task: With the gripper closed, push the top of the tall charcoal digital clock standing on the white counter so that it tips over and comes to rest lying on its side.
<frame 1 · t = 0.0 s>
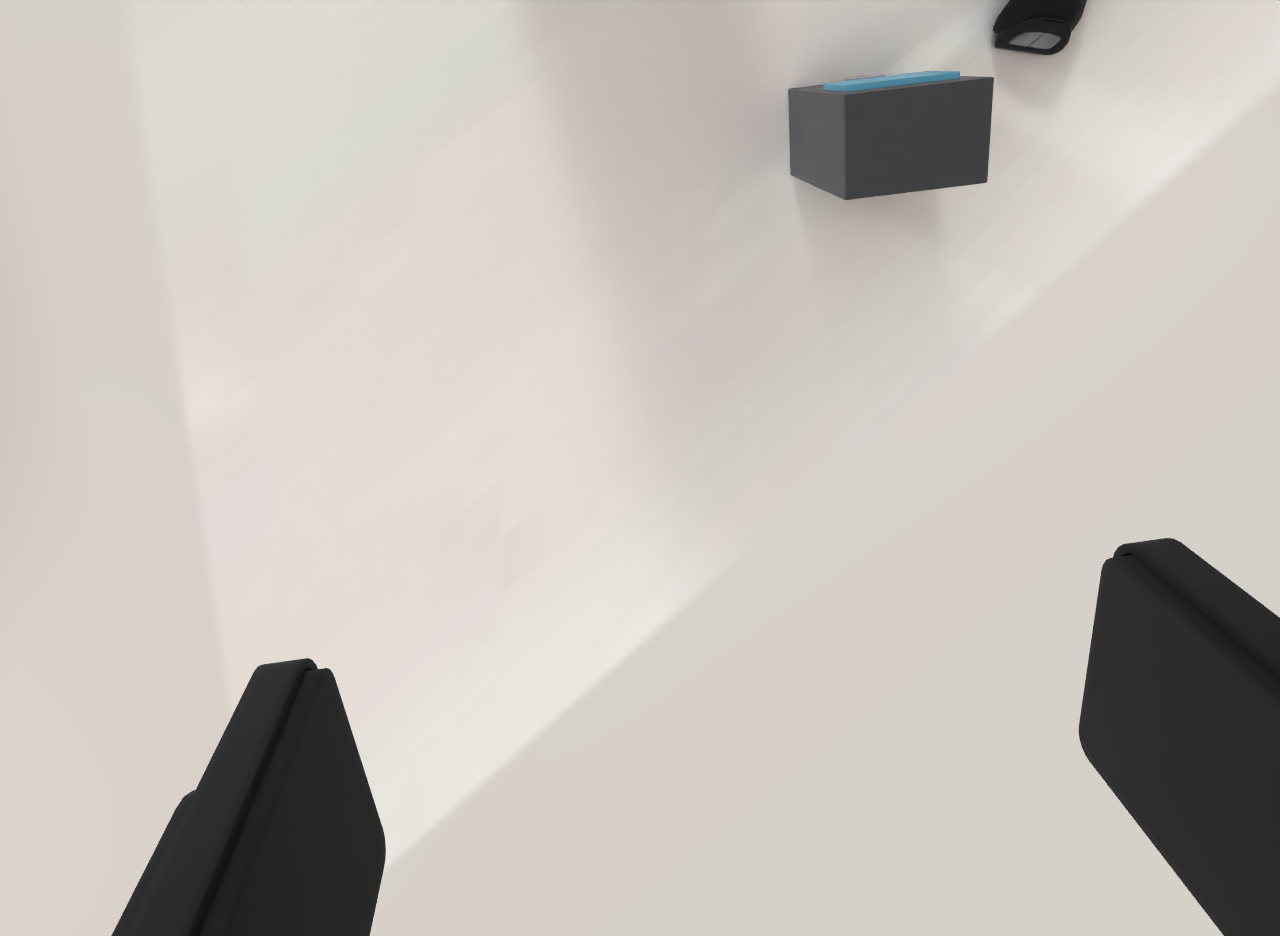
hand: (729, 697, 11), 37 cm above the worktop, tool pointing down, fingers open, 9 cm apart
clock: (849, 125, 43), on the worktop
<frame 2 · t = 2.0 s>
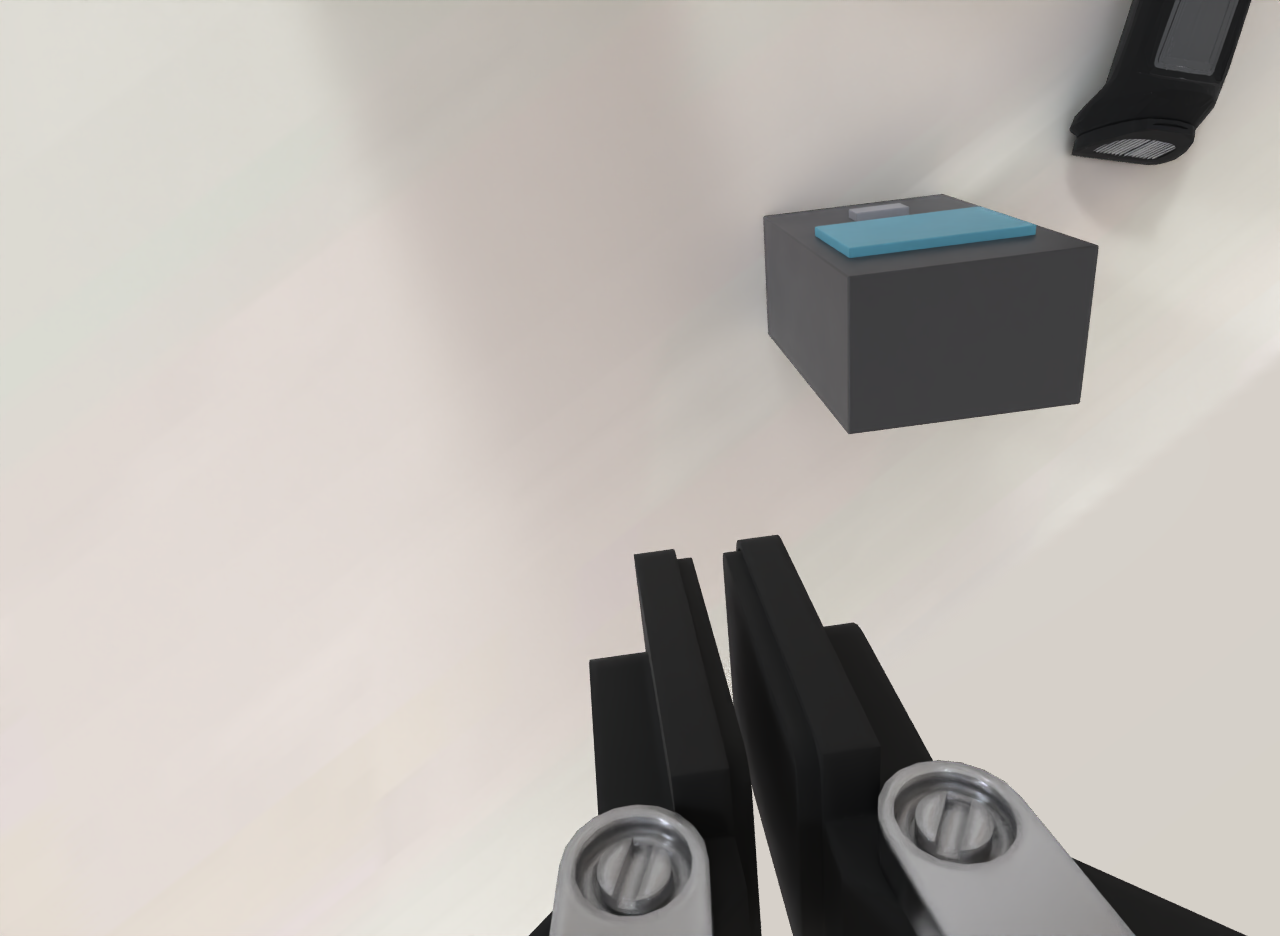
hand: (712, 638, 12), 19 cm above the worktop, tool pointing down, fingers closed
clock: (853, 265, 29), on the worktop
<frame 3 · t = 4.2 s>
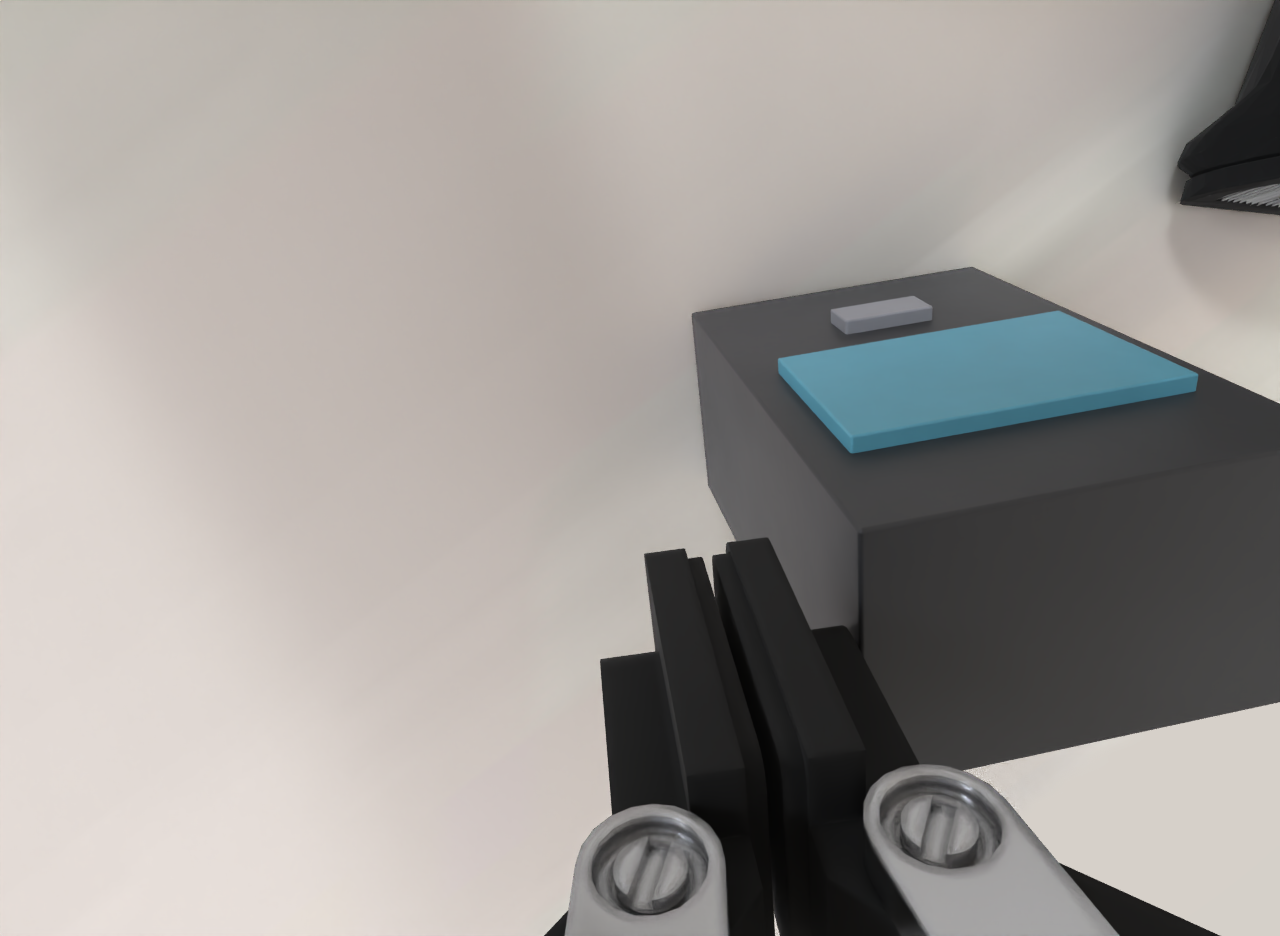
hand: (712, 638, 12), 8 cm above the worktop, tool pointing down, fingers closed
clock: (836, 379, 19), on the worktop, touching gripper
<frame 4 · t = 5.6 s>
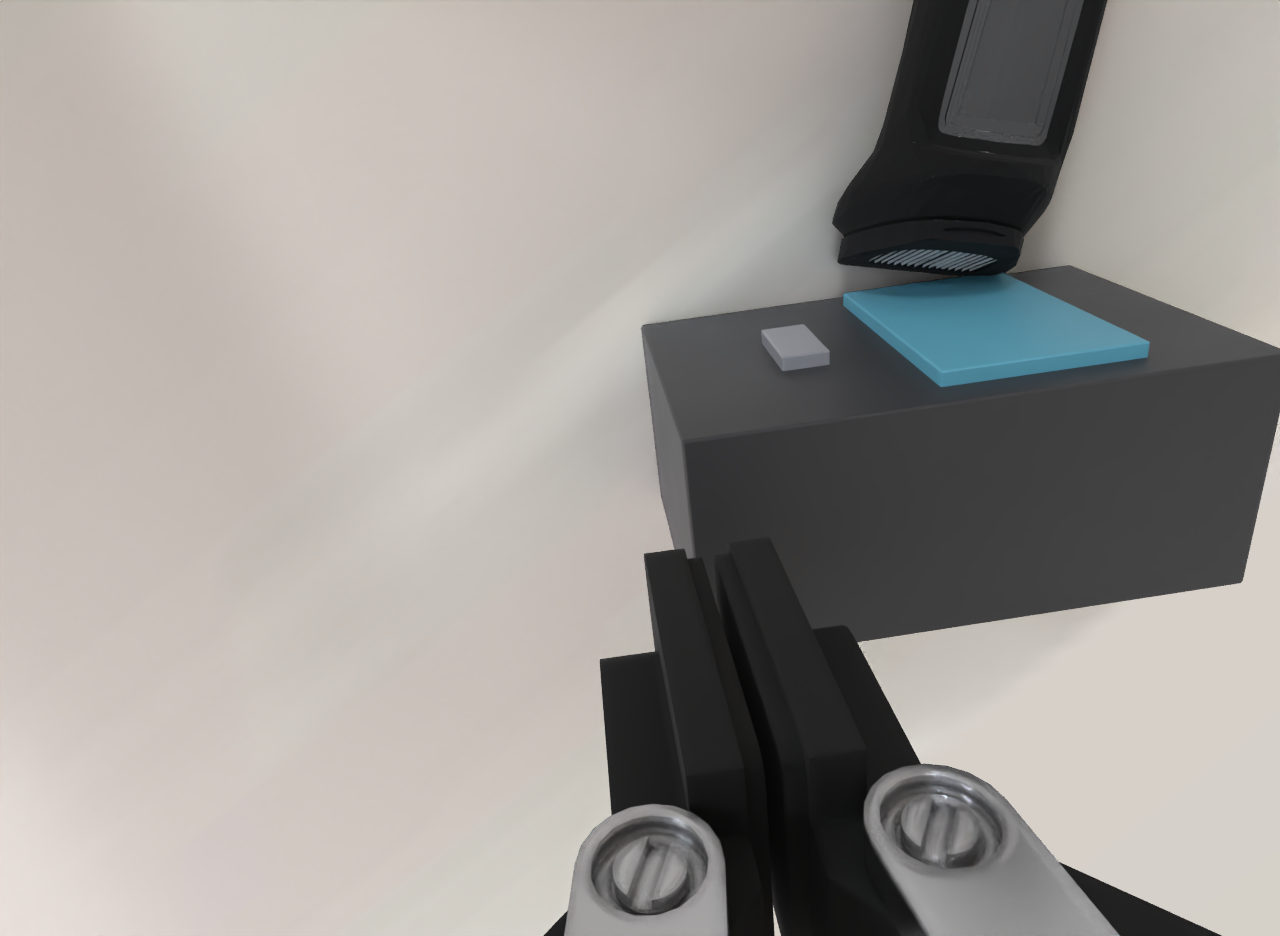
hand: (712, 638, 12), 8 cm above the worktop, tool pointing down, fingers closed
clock: (668, 476, 16), point 3 cm above the worktop, tilted 90°
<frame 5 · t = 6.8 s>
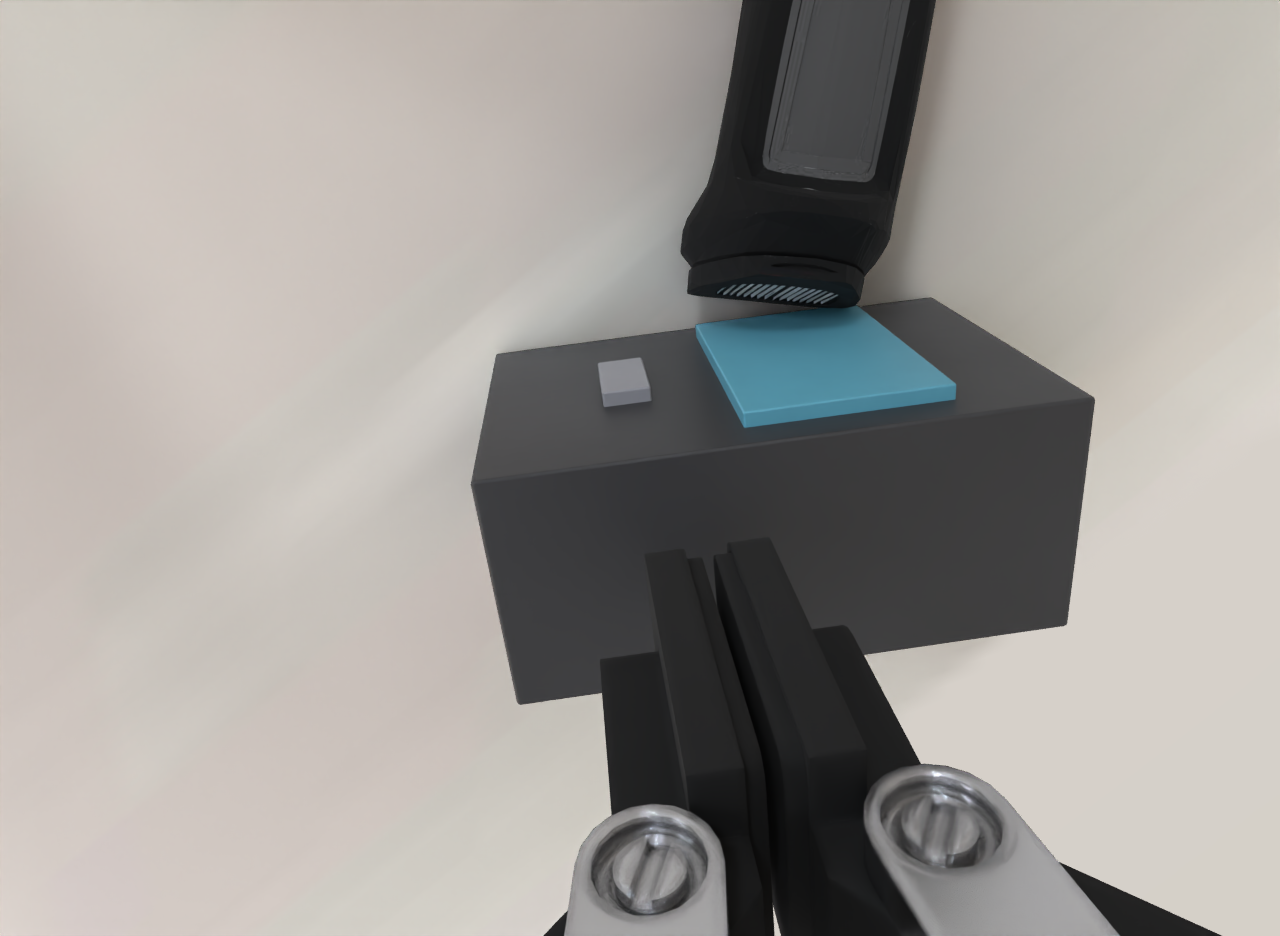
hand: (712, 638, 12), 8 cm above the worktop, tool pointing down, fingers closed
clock: (505, 509, 16), point 3 cm above the worktop, tilted 90°
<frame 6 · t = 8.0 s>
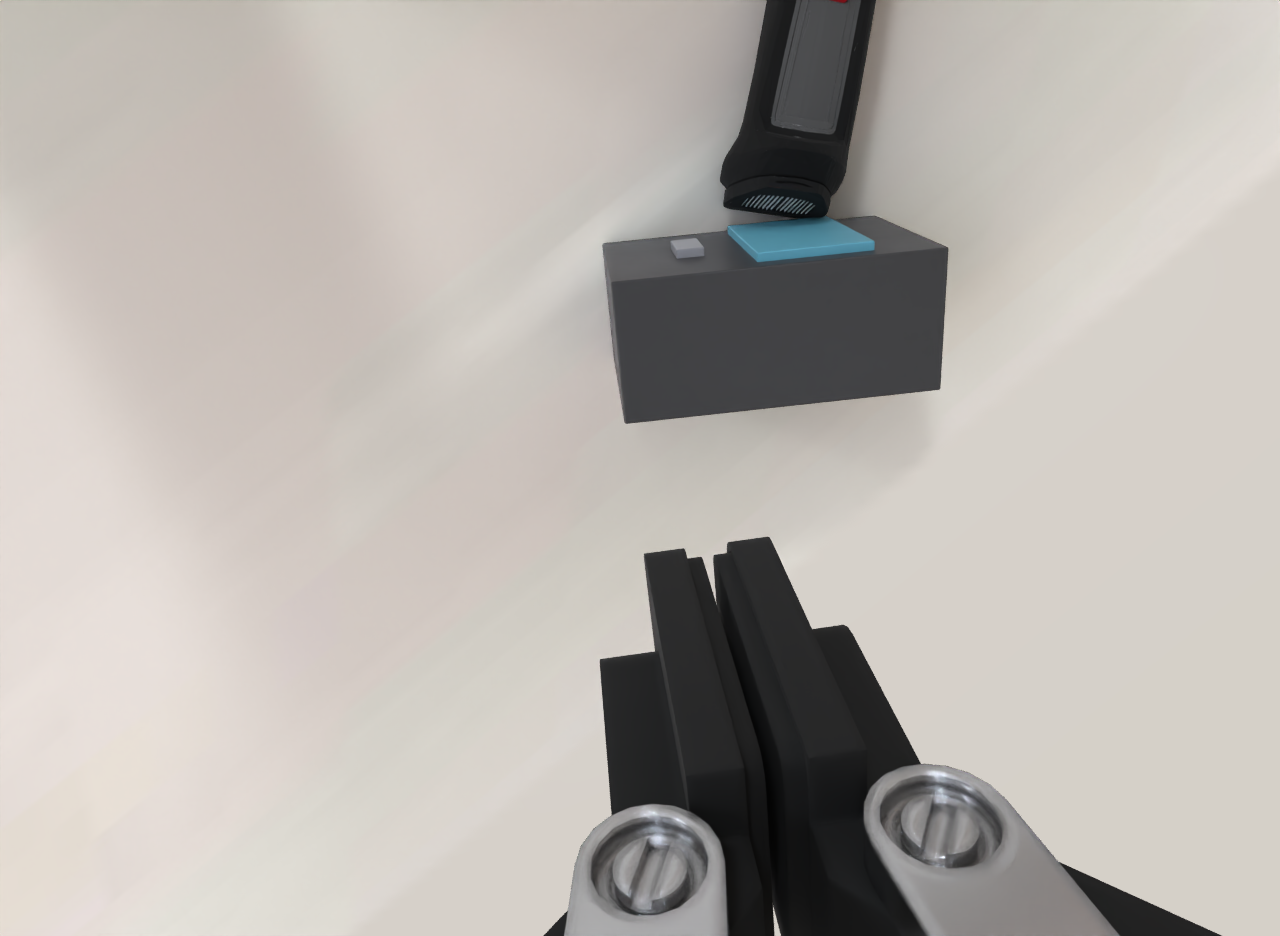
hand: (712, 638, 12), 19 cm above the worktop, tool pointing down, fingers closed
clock: (612, 327, 26), point 3 cm above the worktop, tilted 90°
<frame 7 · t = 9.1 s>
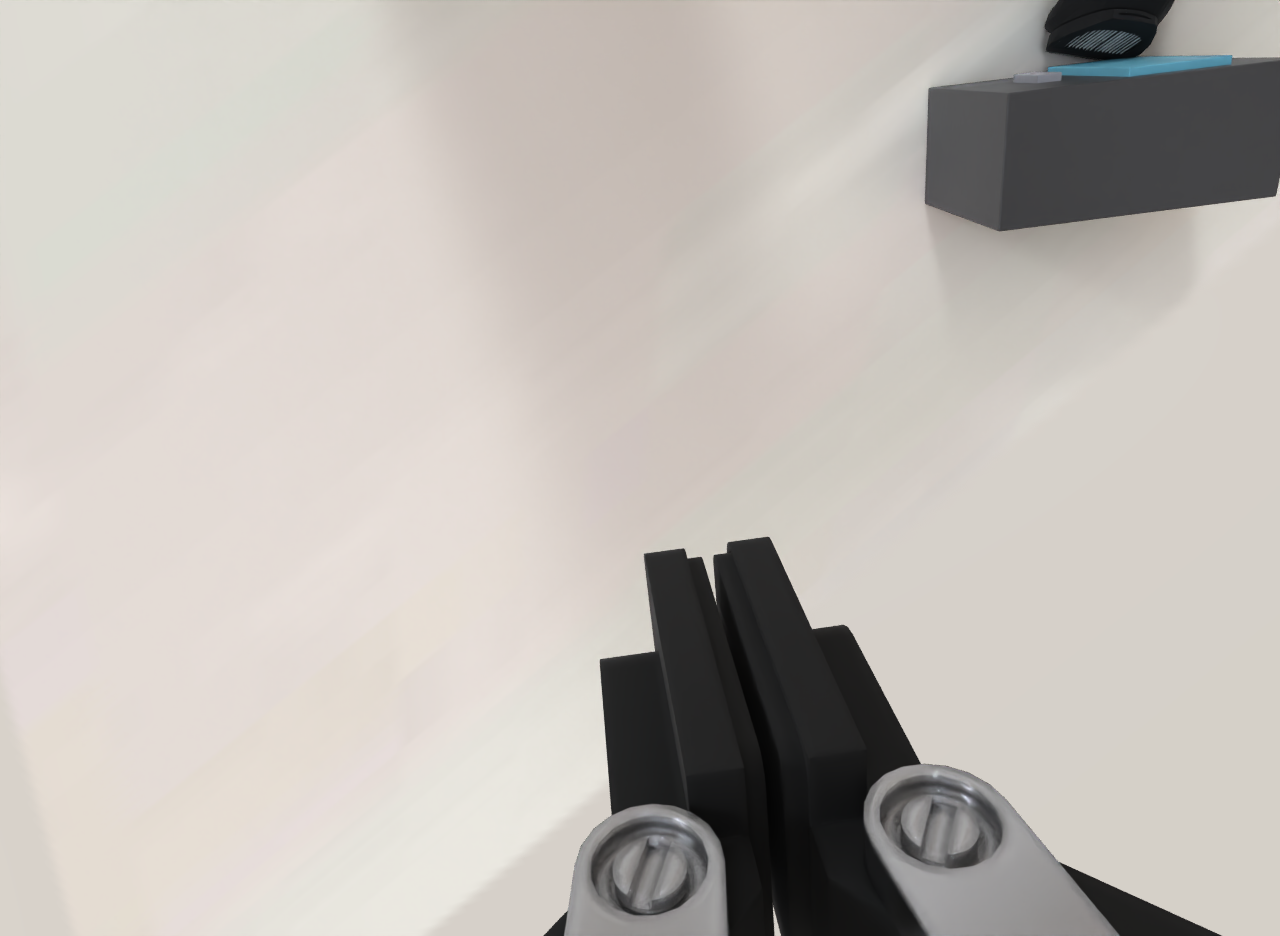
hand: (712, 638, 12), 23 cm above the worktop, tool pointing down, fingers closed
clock: (961, 155, 29), point 3 cm above the worktop, tilted 90°
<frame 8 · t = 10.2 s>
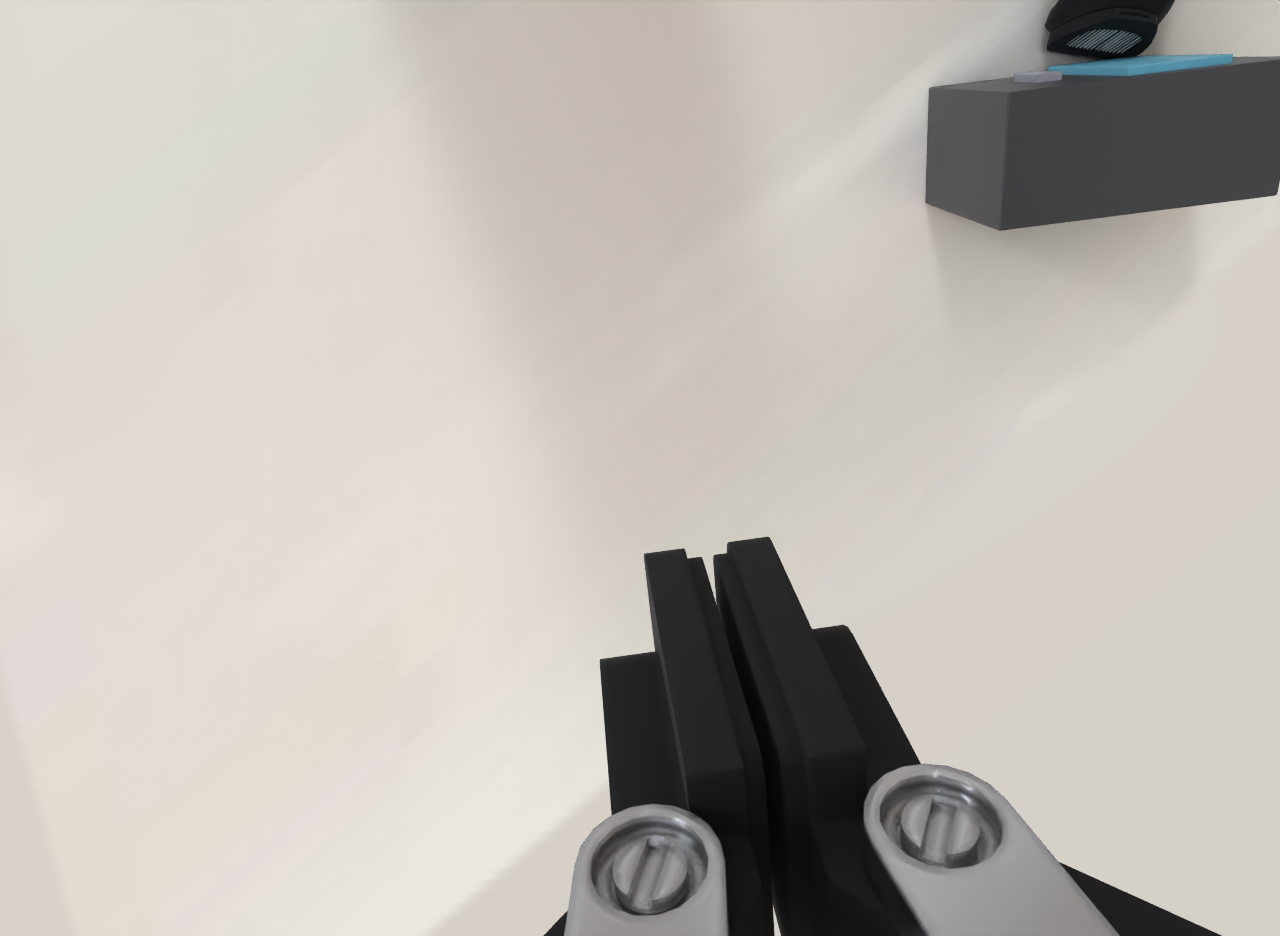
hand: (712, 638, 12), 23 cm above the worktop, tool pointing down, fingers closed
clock: (961, 154, 29), point 3 cm above the worktop, tilted 90°
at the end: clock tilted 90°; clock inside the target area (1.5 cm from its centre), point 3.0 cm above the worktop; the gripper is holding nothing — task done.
